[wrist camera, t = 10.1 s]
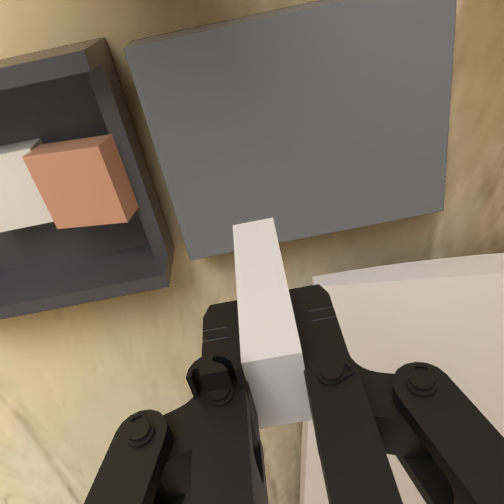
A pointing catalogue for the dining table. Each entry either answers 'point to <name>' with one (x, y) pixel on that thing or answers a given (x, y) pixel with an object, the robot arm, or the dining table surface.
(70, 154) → the tile terracotta
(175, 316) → the dining table surface
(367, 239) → the dining table surface
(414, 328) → the board
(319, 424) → the robot arm
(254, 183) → the slate board
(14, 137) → the box
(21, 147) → the tile white
